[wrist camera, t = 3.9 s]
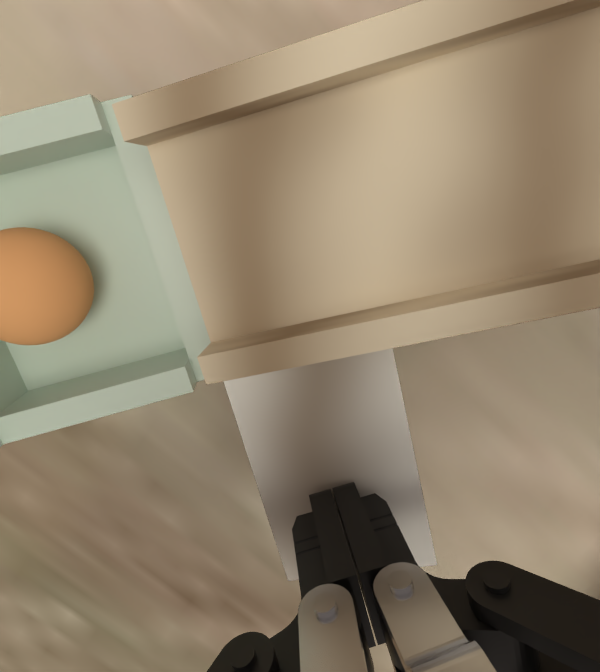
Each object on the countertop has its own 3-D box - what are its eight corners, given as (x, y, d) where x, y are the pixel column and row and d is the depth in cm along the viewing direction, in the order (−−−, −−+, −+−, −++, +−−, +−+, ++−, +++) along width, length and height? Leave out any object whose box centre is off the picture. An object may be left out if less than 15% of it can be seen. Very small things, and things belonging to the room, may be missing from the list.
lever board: (957, -112, 11) (1481, -375, 6) (885, 438, 15) (1151, 563, 10) (182, 128, 14) (91, 97, 9) (299, 516, 18) (278, 635, 13)
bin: (148, 111, 17) (79, 43, 10) (226, 355, 20) (212, 428, 13) (-89, 172, 17) (-322, 142, 10) (23, 411, 19) (-99, 515, 13)
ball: (74, 207, 14) (-79, 240, 12) (120, 326, 15) (-15, 373, 13) (64, 221, 17) (-58, 248, 16) (101, 317, 19) (-8, 353, 17)
